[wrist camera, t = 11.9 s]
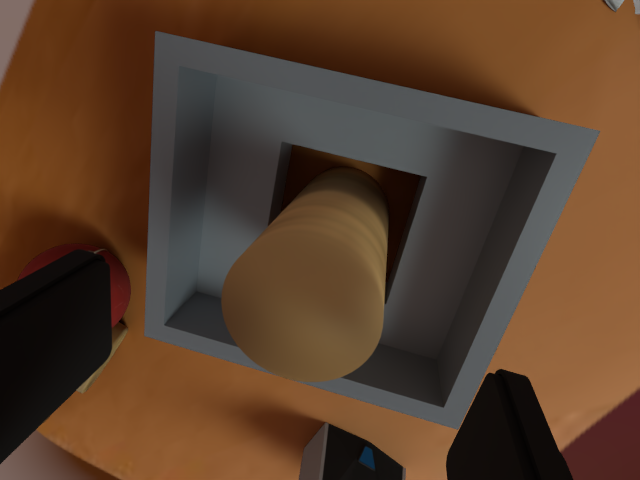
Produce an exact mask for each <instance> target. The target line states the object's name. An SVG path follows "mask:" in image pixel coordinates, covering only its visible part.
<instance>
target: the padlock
mask: <svg viewBox="0 0 640 480" xmlns="http://www.w3.org/2000/svg"><path fill="white" fill-rule="evenodd" d="M405 477H406V469H405V468H404V467H402V466H401V465H400V464H398V463H397V462H396V461H394V460H393V459H392V458H390V457H389V456H388V455H386V454H385V453H384V452H382V451H381V450H380V449H378V448H377V447H376V446H374V445H373V444H372V443H370V442H369V441H366V440H364V439H362V438H360V437H357V436H355V435H353V434H351V433H349V432H346V431H344V430H342V429H340V428H337V427H335V426H333V425H331V424H328V423H326V422H325V424H324V425H323V426H322V427H321V428H320V430H319V431H318V432H317V433H316V434H315V436H314V437H313V438H312V439H311V441H310V442H309V443H308V444H307V445H306V447H305V448H304V451H303V457H302V463H301V469H300V475H299V480H405Z"/></svg>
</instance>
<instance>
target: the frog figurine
mask: <svg viewBox="0 0 640 480" xmlns="http://www.w3.org/2000/svg"><path fill="white" fill-rule="evenodd" d="M623 1H624V0H605V2H606V3H607V4H608V6H609V7H610V8H611V9H612V10H614V11H615V12H616V10H617V9H618V8H619V7H620V6H621V4H622V3H623ZM633 1H634V5H635V14H640V0H633Z"/></svg>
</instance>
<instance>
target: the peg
mask: <svg viewBox="0 0 640 480" xmlns="http://www.w3.org/2000/svg"><path fill="white" fill-rule="evenodd" d="M388 226H389V204H388V200H387V197H386V194H385V192H384V190H383V189H382V187H381V186H380V184H379V183H378V182H377V181H376V180H375V179H374V178H373V177H371V176H370V175H368V174H367V173H365V172H363V171H361V170H358V169H355V168H349V167H338V168H332V169H329V170H326V171H324V172H322V173H320V174H319V175H317V176H316V177H315V178H314V179H313V180H312V181H311V182H310V183H309V184H308V185H307V186H306V187H305V188H304V189H303V190H302V191H301V192H300V193H299V194H298V195H297V196H296V197H295V199H294V200H293V201H292V202H291V203H290V204H289V205H288V206H287V207H286V208H285V209H284V210H283V211H282V212H281V213H280V214H279V216H278V217H277V218H276V219H275V220H274V221H273V222H272V223H271V224H270V225H269V226H268V227H267V228H266V229H265V230H264V231H263V232H262V234H261V235H260V236H259V237H258V238H257V239H256V240H255V241H254V242H253V243H252V244H251V245H250V246H249V247H248V248H247V249H246V251H245V252H244V253H243V254H242V255H241V256H240V257H239V258H238V259H237V260H236V261H235V263H234V264H233V265H232V267H231V268H230V270H229V272H228V274H227V276H226V278H225V281H224V284H223V289H222V298H221V304H222V313H223V317H224V321H225V324H226V326H227V329H228V331H229V333H230V335H231V337H232V338H233V340H234V341H235V343H236V344H237V346H238V347H239V348H240V349H241V350H242V351H243V353H244V354H245V355H247V356H248V357H249V358H250V359H251V360H252V361H253V362H255V363H256V364H257V365H259V366H260V367H262V368H264V369H265V370H267V371H269V372H271V373H273V374H275V375H278V376H281V377H283V378H286V379H291V380H295V381H302V382H323V381H329V380H334V379H337V378H340V377H343V376H345V375H347V374H349V373H351V372H353V371H354V370H356V369H357V368H359V367H360V366H361V365H362V364H363V363H364V362H366V361H367V359H368V358H369V357H370V356H371V355H372V353H373V352H374V350H375V348H376V347H377V345H378V342H379V340H380V337H381V333H382V329H383V317H384V298H385V280H386V262H387V244H388Z"/></svg>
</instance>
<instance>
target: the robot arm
mask: <svg viewBox="0 0 640 480" xmlns="http://www.w3.org/2000/svg"><path fill="white" fill-rule="evenodd" d="M111 351H112V318H111V279H110V266H109V264H108V263H106V260H105V258H104V257H103V256H102V255H100V254H96V253H93V252H89V251H85V250H82V249H77V250H74V251H72V252H70V253H68V254H66V255H65V256H63V257H61V258H59V259H57V260H55V261H53V262H52V263H50V264H48V265H46V266H44V267H42V268H40V269H39V270H37V271H35V272H33V273H31V274H29V275H27V276H26V277H24V278H22V279H20V280H18V281H16V282H14V283H13V284H11V285H9V286H7V287H5V288H3V289H1V290H0V464H1V463H2V462H3V461H4V460H5V459H6V458H7V457H8V456H9V455H10V454H11V453H12V452H13V451H14V450H15V449H16V448H17V447H18V446H19V445H20V444H21V443H22V442H23V441H24V440H26V438H28V437H29V435H31V434H32V433H33V432H34V431H35V430H36V429H37V428H38V427H39V426H40V425H41V424H42V423H43V422H44V421H45V420H46V419H47V418H48V417H49V416H50V415H51V414H52V413H53V412H54V411H55V410H56V409H57V408H58V407H59V406H61V405H62V404H63V403H64V402H65V401H66V400H67V399H68V398H69V397H70V396H71V395H72V394H73V393H74V392H75V391H76V390H77V389H78V388H79V387H80V386H81V385H82V384H83V383H84V382H85V381H86V380H87V379H88V378H89V377H90V376H91V375H92V374H93V373H94V372H96V371H97V370H98V369H99V368H100V367H101V366H102V365H103V364H104V363H105V362H106V360H107V359H108V358H109V356H110V354H111ZM446 470H447V479H448V480H573V478H572V475H571V473H570V471H569V468H568V466H567V463H566V461H565V459H564V458H563V456H562V454H561V453H560V452H559V450H558V447H557V445H556V443H555V440H554V438H553V435H552V433H551V431H550V428H549V426H548V423H547V421H546V419H545V416H544V414H543V411H542V409H541V407H540V404H539V402H538V399H537V397H536V395H535V392H534V390H533V387H532V385H531V382H530V380H529V379H528V377H526V376H524V375H520V374H517V373H513V372H510V371H506V370H503V369H499V370H497V371H496V373H495V374H493V373H488V374H487V376H486V377H485V379H484V381H483V383H482V385H481V387H480V389H479V391H478V393H477V395H476V397H475V399H474V401H473V403H472V405H471V407H470V409H469V411H468V413H467V415H466V417H465V419H464V421H463V423H462V425H461V427H460V429H459V431H458V433H457V435H456V437H455V439H454V441H453V443H452V445H451V447H450V449H449V452H448V455H447V461H446Z"/></svg>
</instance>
